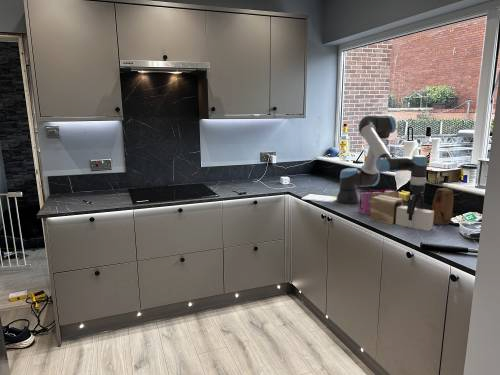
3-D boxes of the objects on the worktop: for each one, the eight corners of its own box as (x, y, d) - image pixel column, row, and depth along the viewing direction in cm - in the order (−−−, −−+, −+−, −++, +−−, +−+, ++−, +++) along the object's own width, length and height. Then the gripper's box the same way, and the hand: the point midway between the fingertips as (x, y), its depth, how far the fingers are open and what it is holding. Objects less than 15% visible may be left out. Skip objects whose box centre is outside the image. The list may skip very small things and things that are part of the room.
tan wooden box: (379, 215, 229) (380, 194, 226) (401, 220, 219) (402, 198, 216) (370, 219, 222) (371, 197, 219) (392, 224, 212) (394, 201, 209)
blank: (399, 222, 216) (401, 205, 214) (432, 228, 204) (434, 210, 202) (395, 224, 212) (396, 207, 210) (428, 231, 200) (430, 213, 198)
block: (440, 220, 219) (443, 187, 215) (452, 223, 212) (456, 189, 208) (428, 223, 214) (431, 188, 209) (440, 226, 207) (444, 191, 203)
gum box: (362, 214, 232) (363, 193, 229) (356, 211, 240) (357, 190, 237) (397, 212, 236) (399, 191, 233) (390, 209, 243) (392, 189, 241)
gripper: (415, 187, 193) (412, 229, 198) (432, 182, 208) (429, 221, 212) (401, 185, 199) (398, 226, 203) (419, 180, 213) (416, 218, 218)
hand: (414, 223), depth 208 cm, fingers open, 9 cm apart
